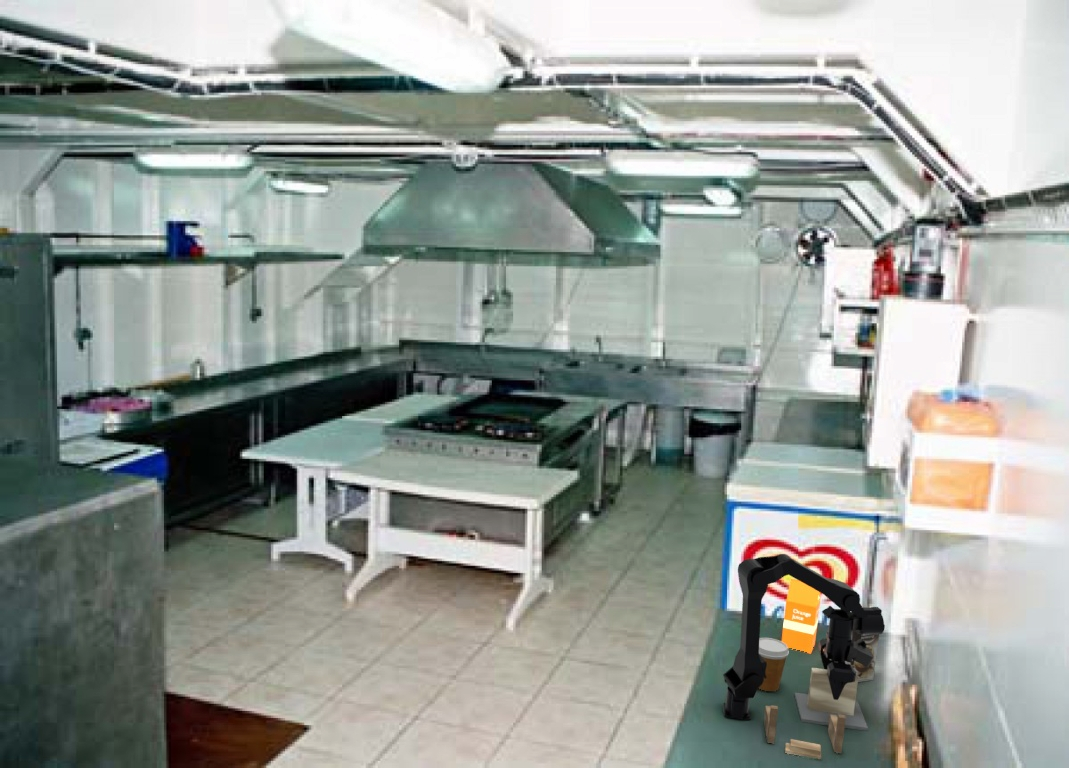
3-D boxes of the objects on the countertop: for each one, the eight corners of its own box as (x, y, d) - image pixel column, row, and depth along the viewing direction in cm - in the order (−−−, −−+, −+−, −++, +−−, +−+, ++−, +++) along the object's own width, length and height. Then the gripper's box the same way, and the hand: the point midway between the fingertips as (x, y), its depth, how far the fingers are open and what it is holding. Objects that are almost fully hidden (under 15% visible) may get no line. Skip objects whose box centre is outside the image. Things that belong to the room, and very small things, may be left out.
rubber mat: (794, 695, 245) (794, 692, 245) (856, 703, 243) (857, 700, 243) (801, 721, 232) (801, 718, 232) (867, 730, 230) (867, 727, 229)
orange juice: (810, 654, 272) (818, 589, 269) (780, 646, 275) (787, 582, 272) (815, 644, 279) (822, 581, 276) (785, 637, 282) (792, 574, 279)
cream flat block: (807, 703, 240) (811, 667, 238) (851, 709, 238) (856, 673, 236) (808, 709, 237) (813, 672, 235) (853, 715, 235) (858, 678, 234)
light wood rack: (763, 722, 230) (767, 688, 229) (834, 732, 228) (838, 698, 226) (767, 743, 220) (771, 708, 219) (841, 753, 218) (845, 718, 217)
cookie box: (848, 684, 254) (856, 629, 251) (832, 673, 260) (839, 619, 257) (874, 680, 258) (881, 625, 255) (857, 669, 263) (864, 616, 261)
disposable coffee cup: (748, 675, 255) (752, 634, 253) (783, 681, 253) (788, 640, 251) (748, 691, 246) (753, 649, 244) (785, 697, 244) (790, 654, 242)
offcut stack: (785, 747, 220) (786, 737, 220) (820, 754, 218) (821, 744, 218) (785, 755, 217) (786, 745, 216) (820, 762, 215) (821, 752, 214)
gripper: (880, 653, 224) (872, 713, 226) (865, 622, 242) (858, 678, 245) (833, 647, 225) (826, 707, 228) (821, 617, 244) (814, 672, 246)
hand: (832, 690), depth 237 cm, fingers open, 9 cm apart
